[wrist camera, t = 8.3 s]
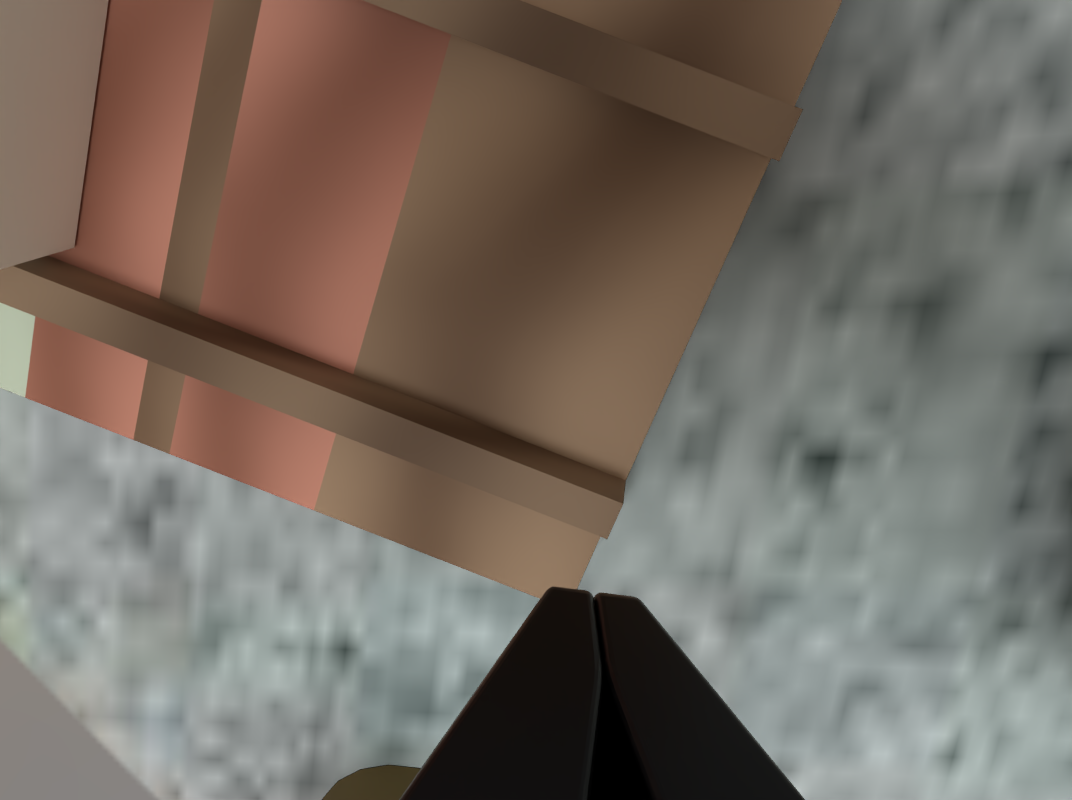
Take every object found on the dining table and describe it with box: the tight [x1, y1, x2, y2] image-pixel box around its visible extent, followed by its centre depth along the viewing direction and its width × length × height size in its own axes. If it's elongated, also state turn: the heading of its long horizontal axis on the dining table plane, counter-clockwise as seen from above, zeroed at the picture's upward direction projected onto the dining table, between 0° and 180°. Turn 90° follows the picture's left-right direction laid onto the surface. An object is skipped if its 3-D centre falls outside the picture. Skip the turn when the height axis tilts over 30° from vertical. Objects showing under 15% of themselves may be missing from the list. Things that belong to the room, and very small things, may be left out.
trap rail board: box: [0, 0, 842, 599], centre depth 18 cm, size 21×16×4 cm
